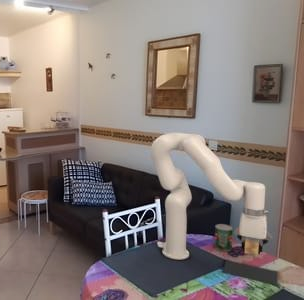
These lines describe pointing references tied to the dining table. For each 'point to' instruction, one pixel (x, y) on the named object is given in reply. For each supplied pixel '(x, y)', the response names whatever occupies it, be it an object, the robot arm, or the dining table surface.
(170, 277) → the dining table surface
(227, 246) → the canned tomato
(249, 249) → the block
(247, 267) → the mat
